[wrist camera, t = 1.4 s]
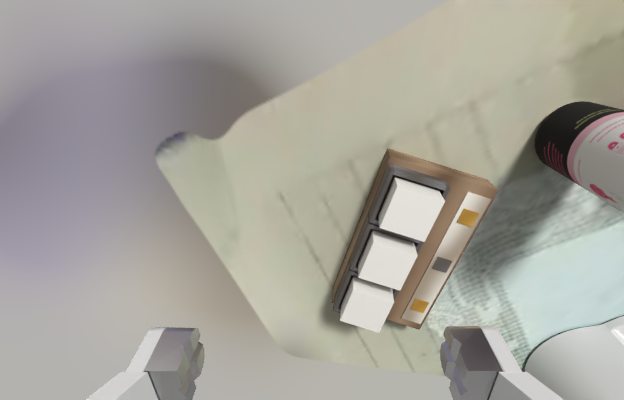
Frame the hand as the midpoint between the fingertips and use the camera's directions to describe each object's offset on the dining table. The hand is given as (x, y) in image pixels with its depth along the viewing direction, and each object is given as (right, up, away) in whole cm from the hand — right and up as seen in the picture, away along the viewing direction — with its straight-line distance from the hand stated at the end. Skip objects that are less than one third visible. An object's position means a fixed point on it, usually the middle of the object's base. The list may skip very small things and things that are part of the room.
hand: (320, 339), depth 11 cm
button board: (+10, 0, +29) cm, 30 cm away
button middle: (+7, -1, +24) cm, 26 cm away
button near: (+9, +4, +22) cm, 24 cm away
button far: (+6, -6, +27) cm, 28 cm away
